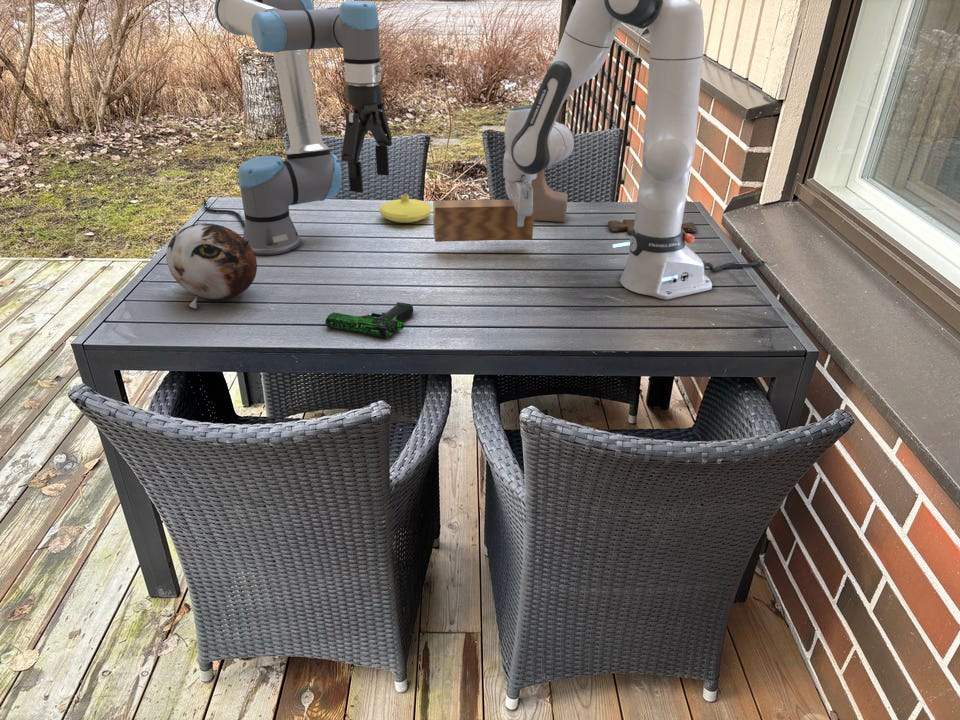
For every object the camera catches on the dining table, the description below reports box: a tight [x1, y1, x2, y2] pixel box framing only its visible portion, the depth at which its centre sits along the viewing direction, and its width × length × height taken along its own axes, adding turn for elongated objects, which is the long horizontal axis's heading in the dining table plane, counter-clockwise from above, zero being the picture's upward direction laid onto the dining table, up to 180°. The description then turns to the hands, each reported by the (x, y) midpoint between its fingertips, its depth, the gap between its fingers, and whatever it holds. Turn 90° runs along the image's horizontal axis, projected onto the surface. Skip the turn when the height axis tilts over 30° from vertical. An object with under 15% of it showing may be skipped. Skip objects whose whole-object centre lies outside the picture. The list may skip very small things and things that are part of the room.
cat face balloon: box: [165, 222, 258, 309], centre depth 165 cm, size 22×18×20 cm
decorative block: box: [531, 168, 568, 223], centre depth 212 cm, size 8×15×30 cm, turn 82°
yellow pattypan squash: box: [378, 194, 433, 224], centre depth 215 cm, size 16×16×7 cm
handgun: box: [324, 301, 414, 339], centre depth 158 cm, size 16×3×15 cm
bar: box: [432, 198, 535, 243], centre depth 191 cm, size 26×6×9 cm, turn 98°
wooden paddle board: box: [607, 219, 697, 235], centre depth 211 cm, size 26×2×10 cm
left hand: (370, 182), depth 161 cm, fingers open, 13 cm apart
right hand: (517, 221), depth 192 cm, fingers closed on bar, 5 cm apart
